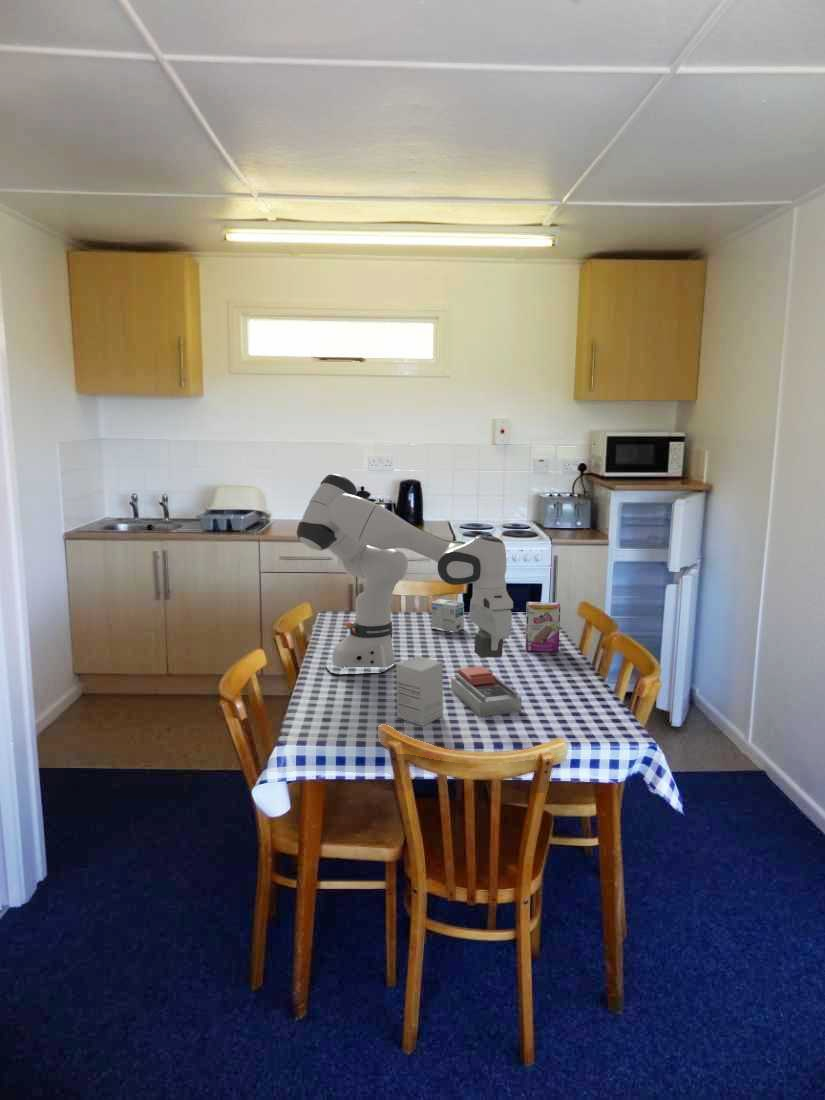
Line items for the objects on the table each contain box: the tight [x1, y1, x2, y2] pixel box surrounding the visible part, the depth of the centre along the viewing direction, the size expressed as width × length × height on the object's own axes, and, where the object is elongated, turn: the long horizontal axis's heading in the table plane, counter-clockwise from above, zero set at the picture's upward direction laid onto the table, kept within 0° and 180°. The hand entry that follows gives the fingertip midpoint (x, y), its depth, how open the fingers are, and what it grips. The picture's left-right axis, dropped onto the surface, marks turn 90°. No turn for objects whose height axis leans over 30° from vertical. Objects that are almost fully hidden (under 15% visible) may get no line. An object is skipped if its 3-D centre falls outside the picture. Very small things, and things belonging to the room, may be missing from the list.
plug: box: [473, 630, 504, 658], centre depth 203 cm, size 6×5×6 cm
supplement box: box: [395, 656, 444, 727], centre depth 198 cm, size 9×9×15 cm
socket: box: [450, 672, 522, 718], centre depth 211 cm, size 12×21×5 cm, turn 18°
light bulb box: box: [430, 598, 465, 633], centre depth 282 cm, size 11×7×11 cm, turn 58°
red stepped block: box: [458, 665, 496, 685], centre depth 216 cm, size 8×9×3 cm
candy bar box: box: [524, 601, 561, 653], centre depth 255 cm, size 11×5×16 cm, turn 84°
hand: (488, 646), depth 203 cm, fingers closed on plug, 5 cm apart
